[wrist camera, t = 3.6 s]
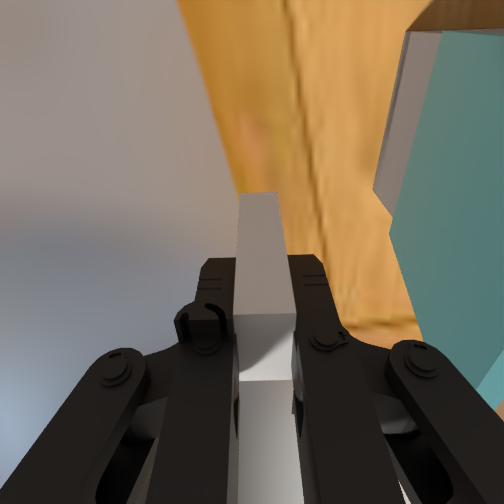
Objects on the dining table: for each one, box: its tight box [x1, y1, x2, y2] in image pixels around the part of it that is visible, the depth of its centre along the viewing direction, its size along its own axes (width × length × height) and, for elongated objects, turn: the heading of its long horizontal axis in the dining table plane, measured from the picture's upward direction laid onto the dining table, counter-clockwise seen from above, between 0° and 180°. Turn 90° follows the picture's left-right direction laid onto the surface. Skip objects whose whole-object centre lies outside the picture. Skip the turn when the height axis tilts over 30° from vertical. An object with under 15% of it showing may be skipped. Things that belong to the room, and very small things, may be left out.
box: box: [373, 28, 504, 217], centre depth 23 cm, size 14×12×7 cm
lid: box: [389, 30, 504, 411], centre depth 14 cm, size 14×12×1 cm
